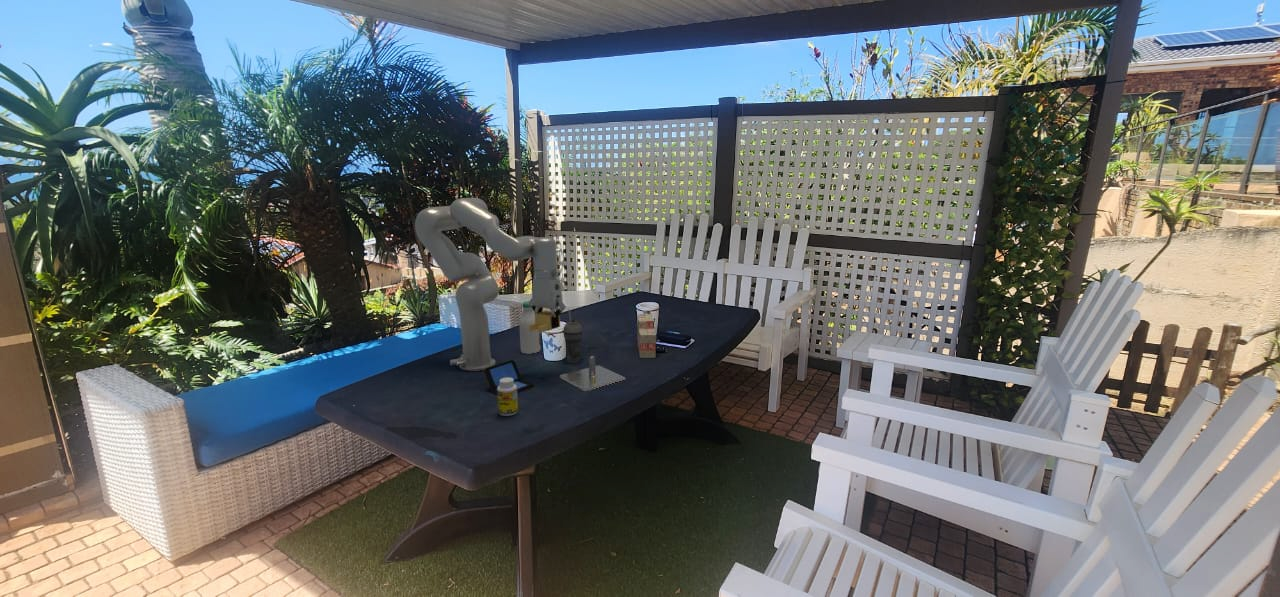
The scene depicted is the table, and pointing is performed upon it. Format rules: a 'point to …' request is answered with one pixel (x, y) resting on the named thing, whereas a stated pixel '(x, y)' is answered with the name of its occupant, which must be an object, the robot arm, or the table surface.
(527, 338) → the milk bottle
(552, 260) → the robot arm
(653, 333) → the stack of blocks
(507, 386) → the supplement bottle
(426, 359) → the table surface
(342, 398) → the table surface
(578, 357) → the beverage cup
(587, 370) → the post base
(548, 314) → the yellow hollow square block
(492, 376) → the handheld game console
